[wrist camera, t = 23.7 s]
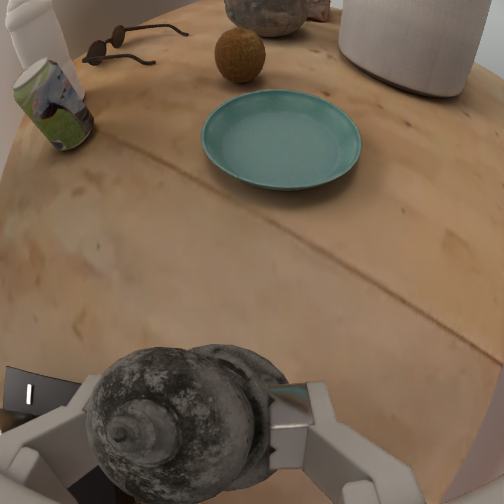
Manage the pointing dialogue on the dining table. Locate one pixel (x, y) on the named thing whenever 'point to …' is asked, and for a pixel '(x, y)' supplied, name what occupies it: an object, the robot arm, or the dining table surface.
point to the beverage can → (53, 104)
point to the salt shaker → (183, 422)
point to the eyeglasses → (118, 45)
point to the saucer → (281, 139)
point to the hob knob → (12, 419)
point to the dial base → (43, 401)
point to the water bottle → (39, 37)
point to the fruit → (240, 55)
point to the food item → (318, 10)
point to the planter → (414, 41)
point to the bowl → (268, 15)
